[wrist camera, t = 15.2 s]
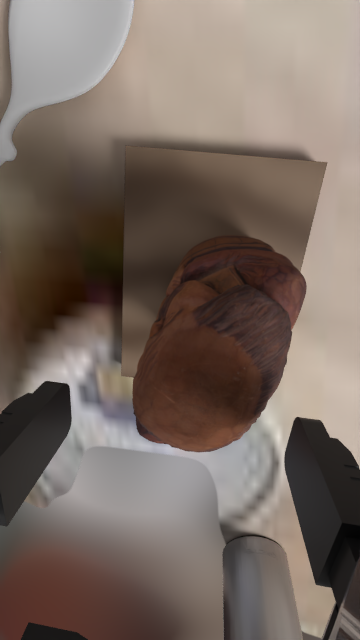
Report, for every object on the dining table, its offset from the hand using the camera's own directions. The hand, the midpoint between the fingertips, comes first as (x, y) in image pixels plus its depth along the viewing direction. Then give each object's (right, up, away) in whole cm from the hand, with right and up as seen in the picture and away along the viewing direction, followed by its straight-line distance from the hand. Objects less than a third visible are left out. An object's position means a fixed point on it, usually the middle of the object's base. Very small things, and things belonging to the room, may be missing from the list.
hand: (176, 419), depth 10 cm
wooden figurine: (+3, +7, +17) cm, 19 cm away
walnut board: (+3, +7, +19) cm, 20 cm away
